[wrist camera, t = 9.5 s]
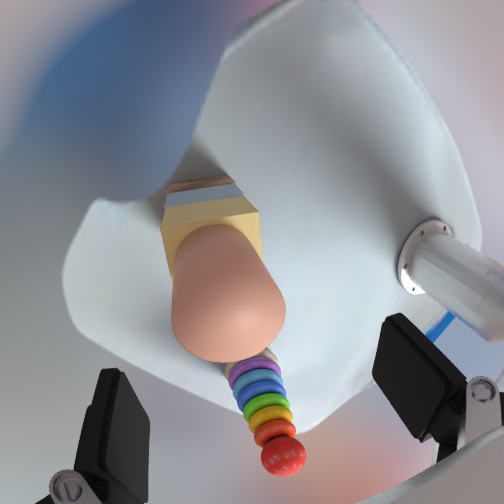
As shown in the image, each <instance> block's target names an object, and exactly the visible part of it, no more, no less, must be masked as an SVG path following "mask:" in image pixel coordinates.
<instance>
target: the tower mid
mask: <svg viewBox="0 0 504 504" xmlns="http://www.w3.org/2000/svg"><path fill="white" fill-rule="evenodd" d="M237 196H244V193H243V192H242V191H241V190H240V189H239V188H238V187H237V186H236V185H235V184H227V185H220V186H213V187H206V188H200V189H193V190H187V191H181V192H175V193H169V194H168V195H167V198H166V201H165V204H164V210H166V208H168V207H174V206H179V205H185V204H191V203H198V202H204V201H210V200H217V199H224V198H230V197H237Z"/></svg>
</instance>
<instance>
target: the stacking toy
mask: <svg viewBox="0 0 504 504" xmlns="http://www.w3.org/2000/svg"><path fill="white" fill-rule="evenodd" d="M225 376H226V379H227V380H228V382H229V385H230V388H231V389H232V390H233V395H234V398H235V399H236V401H237V404H238V407H239V409H240V410H241V411H242V412H243V415H244V418H245V420H246V421H247V422H248V423H249V428H250V430H251V431H252V432H253V433H254V434H255V435H254V439H255V442H256V444H257V445H258V446H260V447H262V448H263V450H262V453H261V461H262V464H263V466H264V467H265V469H266V470H267V471H268V472H270V473H271V474H274V475H277V476H287V475H291V474H293V473H295V472H297V471H298V470H299V469H300V468H301V467H302V466H303V464H304V463H305V459H306V452H305V449H304V447H303V445H302V444H301V443H300V442H299V441H297V440H296V439H295V438H294V436H295V433H296V429H295V426H294V425H293V424H292V423H291V422H292V419H293V416H292V413H291V411H290V410H289V408H290V405H289V402H288V400H287V399H286V391H285V389H284V388H283V380H282V378H281V370H280V368H279V366H278V360H277V358H276V356H275V355H274V354H273V353H272V352H271V351H269V350H267V349H264V350H263V351H261V352H259V353H258V354H256V355H254V356H252V357H250V358H247V359H244V360H240V361H235V362H227V364H226V366H225Z"/></svg>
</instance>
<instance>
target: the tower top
mask: <svg viewBox="0 0 504 504" xmlns="http://www.w3.org/2000/svg"><path fill="white" fill-rule="evenodd" d="M212 224H221V225H227V226H230V227H233V228H235V229H237V230H239V231H240V232H242V233H243V234H244V235H245V236H246V237H247V238H248V239H249V241H250V242H251V244H252V245H253V247H254V249H255V250H256V252H257V254H258V255H259V257H260V259H261V260H262V262H263V255H262V243H261V231H260V220H259V212H258V211H257V209H256V208H255V207H254V206H253V205H252V204H251V203H250V202H249V201H248V200H247V199H246V198H245V197H244V196H237V197H230V198H224V199H217V200H210V201H204V202H198V203H191V204H185V205H179V206H174V207H168V208H166V210H165V213H164V217H163V220H162V223H161V227H160V229H161V234H162V239H163V244H164V248H165V253H166V258H167V262H168V267H169V271H170V275H171V280H172V284H173V275H174V261H175V255H176V251H177V249H178V247H179V245H180V243H181V242H182V241H183V239H184V238H185V237H186V236H187V235H188V234H190V233H191V232H192V231H194V230H196V229H198V228H200V227H203V226H206V225H212Z"/></svg>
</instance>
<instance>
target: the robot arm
mask: <svg viewBox="0 0 504 504" xmlns="http://www.w3.org/2000/svg"><path fill="white" fill-rule="evenodd" d="M398 278H399V281H400V284H401V285H402V287H403V288H404V289H405V290H407V291H408V292H409V293H411V294H422V293H424V292H425V293H426V294H428V295H429V296H430V297H431V298H433V299H434V300H435V301H437V302H438V303H439V304H440V305H442V306H443V307H444V308H445V309H447V310H448V311H449V312H450V313H452V314H453V315H454V316H455V317H457V318H458V319H459V320H460V321H461V322H463V323H464V324H465V325H466V326H468V327H469V328H470V329H471V330H472V331H473V332H475V333H476V334H477V335H478V336H480V337H481V338H482V339H484V340H486V341H488V342H491V343H499V342H504V266H503V265H502V264H500V263H498V262H497V261H495V260H493V259H491V258H489V257H488V256H486V255H484V254H482V253H481V252H479V251H477V250H475V249H473V248H471V247H470V246H469V245H468V244H464V243H462V242H460V241H458V240H456V239H454V238H453V235H452V232H451V230H450V228H449V227H448V225H447V224H445V223H444V222H441V221H439V220H434V219H433V220H428V221H426V222H424V223H422V224H421V225H419V226H418V227H417V228H416V229H415V230H414V231H413V232H412V233H411V235H410V236H409V237H408V239H407V241H406V242H405V244H404V246H403V249H402V251H401V254H400V258H399V262H398ZM372 376H373V378H374V380H375V382H376V383H377V384H378V386H379V387H380V389H381V390H382V392H383V393H384V394H385V396H386V397H387V399H388V400H389V402H390V403H391V405H392V406H393V408H394V409H395V411H396V412H397V414H398V415H399V417H400V418H401V420H402V421H403V423H404V424H405V425H406V427H407V428H408V430H409V431H410V433H411V434H412V435H413V437H414V438H416V439H417V438H418V439H419V441H420V442H421V443H423V442H424V441H426V440H428V439H430V438H431V437H433V438H434V440H435V448H434V453H433V459H432V464H431V467H430V468H428V469H426V470H425V471H423V472H421V473H419V474H417V475H415V476H414V477H412V478H410V479H408V480H406V481H404V482H402V483H400V484H398V485H396V486H394V487H392V488H390V489H388V490H386V491H384V492H382V493H379V494H377V495H375V496H372V497H370V498H367V499H365V500H363V501H360V502H358V503H355V504H504V368H503V370H502V371H501V373H500V374H499V376H498V377H497V379H496V380H495V382H494V381H493V380H491V379H490V378H487V377H484V376H477V377H474V378H472V379H471V380H470V381H469V382H467V381H466V377H465V376H464V375H463V374H462V373H461V372H460V371H459V370H458V368H457V367H456V366H454V364H453V363H451V361H450V360H449V359H448V358H447V357H446V356H445V355H444V354H443V353H442V352H441V351H440V350H439V349H438V348H437V347H436V346H435V345H434V344H433V343H432V342H431V341H430V340H429V339H428V338H427V337H426V336H425V335H424V334H423V333H422V332H421V331H420V330H419V329H418V328H417V327H416V326H415V325H414V324H413V323H412V322H411V321H410V320H409V319H408V318H407V317H405V316H404V315H403V314H402V313H397V314H394V315H391V316H388V317H386V319H385V321H384V322H383V323H382V327H381V332H380V337H379V342H378V347H377V352H376V356H375V361H374V365H373V369H372ZM149 437H150V421H149V417H148V415H147V414H146V412H145V410H144V409H143V407H142V405H141V403H140V401H139V400H138V398H137V396H136V394H135V392H134V390H133V388H132V386H131V385H130V383H129V381H128V379H127V377H126V375H125V373H124V372H120V371H119V369H118V368H108V369H102V370H101V372H100V375H99V378H98V382H97V385H96V389H95V393H94V397H93V400H92V404H91V405H89V407H88V408H87V410H86V414H85V418H84V422H83V426H82V430H81V435H80V440H79V444H78V449H77V453H76V459H75V464H74V469H73V470H69V469H68V470H61V471H59V472H57V473H56V474H55V475H54V476H53V477H52V479H51V480H50V484H49V492H50V494H49V495H48V496H46V497H45V498H43V499H42V500H40V501H39V502H37V503H35V504H144V503H147V502H148V464H149V461H148V460H149Z"/></svg>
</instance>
